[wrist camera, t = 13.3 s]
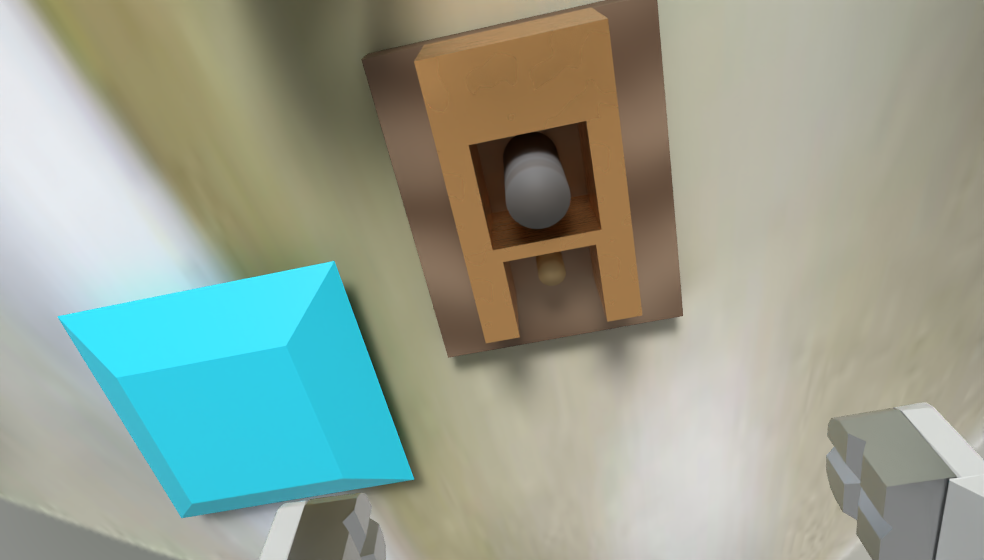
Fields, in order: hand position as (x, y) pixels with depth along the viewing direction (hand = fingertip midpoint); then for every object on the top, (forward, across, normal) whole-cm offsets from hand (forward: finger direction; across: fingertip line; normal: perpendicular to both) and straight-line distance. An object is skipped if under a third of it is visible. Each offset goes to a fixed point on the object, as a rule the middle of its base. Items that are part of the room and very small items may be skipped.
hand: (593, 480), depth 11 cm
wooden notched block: (+19, 0, 0) cm, 19 cm away
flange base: (+21, 0, +2) cm, 21 cm away
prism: (+21, +17, +10) cm, 29 cm away
